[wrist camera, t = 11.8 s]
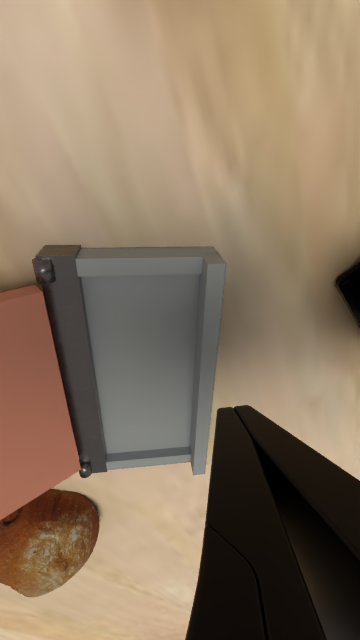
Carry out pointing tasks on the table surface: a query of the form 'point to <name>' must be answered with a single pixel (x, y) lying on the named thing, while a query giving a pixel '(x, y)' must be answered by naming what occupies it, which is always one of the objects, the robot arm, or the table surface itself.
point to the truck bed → (154, 349)
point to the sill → (73, 350)
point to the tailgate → (31, 403)
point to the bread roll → (47, 541)
